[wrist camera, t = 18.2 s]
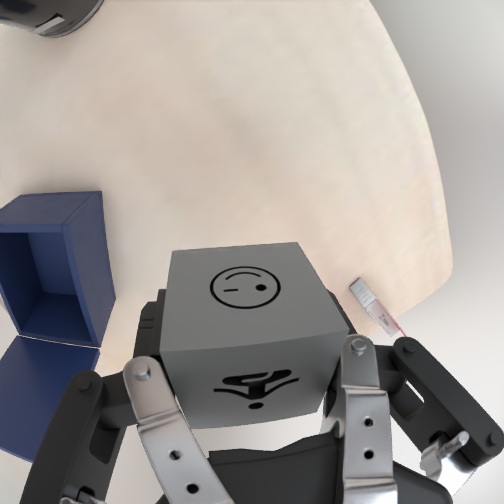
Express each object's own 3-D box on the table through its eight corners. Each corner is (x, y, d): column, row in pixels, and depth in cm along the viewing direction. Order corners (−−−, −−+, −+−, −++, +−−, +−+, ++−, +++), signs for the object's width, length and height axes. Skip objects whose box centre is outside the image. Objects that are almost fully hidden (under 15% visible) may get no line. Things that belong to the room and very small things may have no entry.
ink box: (376, 318, 44) (403, 358, 35) (348, 286, 38) (379, 332, 30) (387, 309, 43) (415, 348, 35) (360, 276, 38) (394, 320, 30)
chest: (20, 194, 24) (-22, 225, 16) (101, 191, 26) (68, 224, 19) (43, 292, 31) (19, 335, 23) (116, 298, 33) (100, 348, 26)
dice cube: (297, 241, 11) (349, 329, 7) (287, 328, 14) (316, 412, 10) (172, 250, 11) (159, 351, 6) (188, 338, 13) (190, 429, 9)
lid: (-37, 426, 9) (-11, 454, 10) (62, 470, 11) (85, 492, 13) (16, 334, 23) (29, 365, 25) (99, 348, 25) (108, 379, 27)
